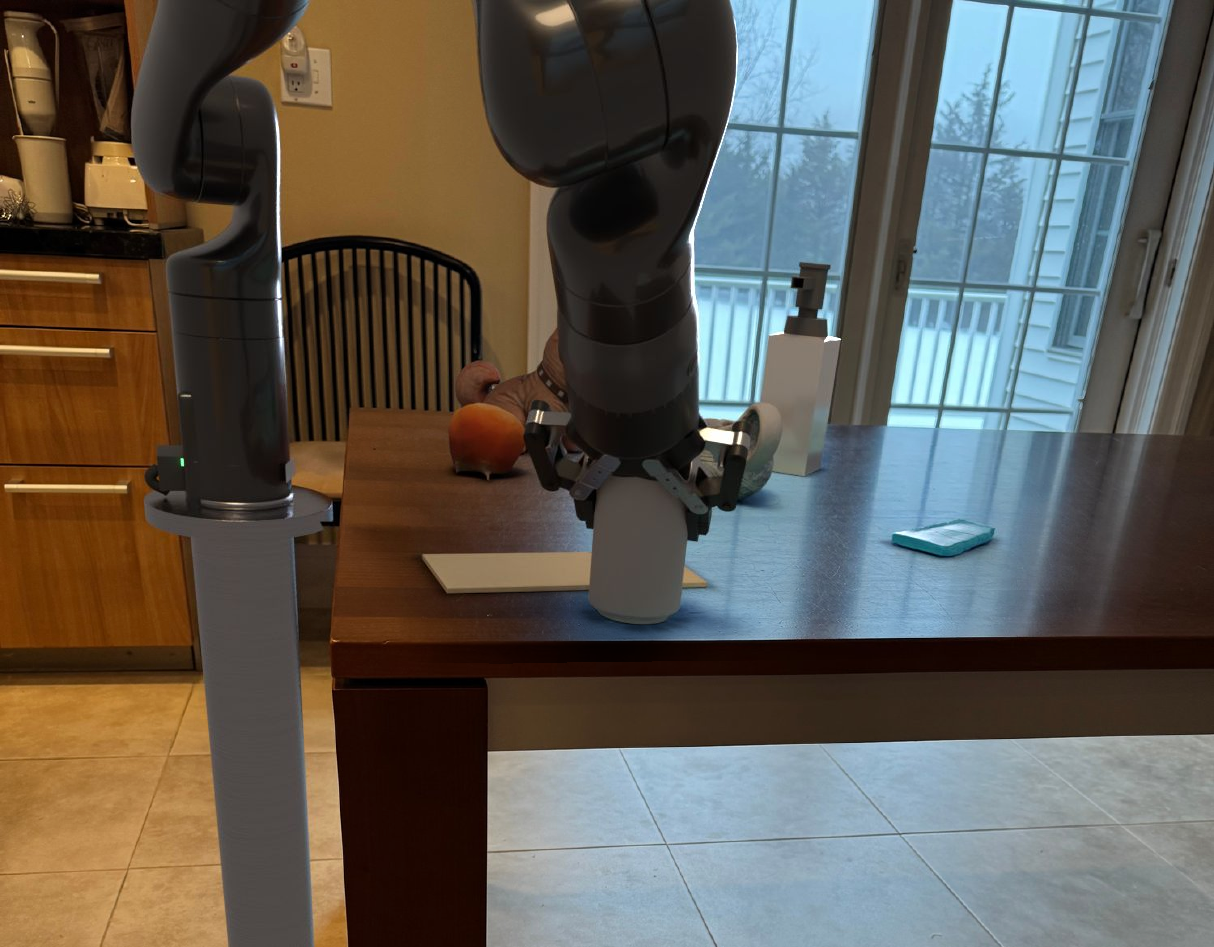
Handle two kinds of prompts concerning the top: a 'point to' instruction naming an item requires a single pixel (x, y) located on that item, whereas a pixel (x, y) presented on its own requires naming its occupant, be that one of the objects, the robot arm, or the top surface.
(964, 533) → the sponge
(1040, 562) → the top surface
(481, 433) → the fruit
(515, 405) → the figurine
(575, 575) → the board
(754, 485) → the mug
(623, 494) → the beverage can
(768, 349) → the soap dispenser
